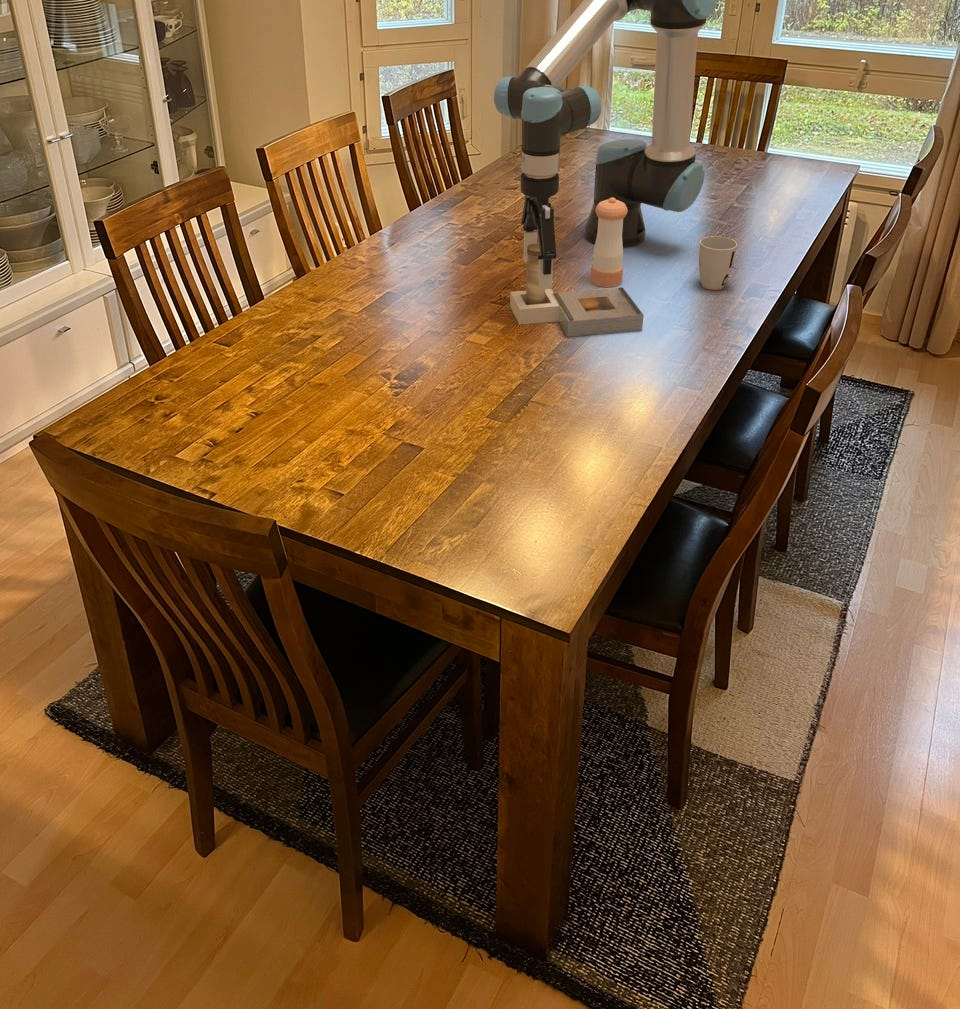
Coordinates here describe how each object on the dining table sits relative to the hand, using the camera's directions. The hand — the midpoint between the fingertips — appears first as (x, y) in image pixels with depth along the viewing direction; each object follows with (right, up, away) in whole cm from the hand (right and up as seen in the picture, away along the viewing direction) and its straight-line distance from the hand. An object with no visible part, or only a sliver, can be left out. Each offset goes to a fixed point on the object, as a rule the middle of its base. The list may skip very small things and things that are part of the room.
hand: (537, 274), depth 209 cm
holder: (0, -7, +5) cm, 9 cm away
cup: (+41, +1, +17) cm, 44 cm away
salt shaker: (+17, +3, +19) cm, 26 cm away
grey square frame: (+12, -9, +3) cm, 16 cm away
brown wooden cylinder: (0, -7, +5) cm, 9 cm away
